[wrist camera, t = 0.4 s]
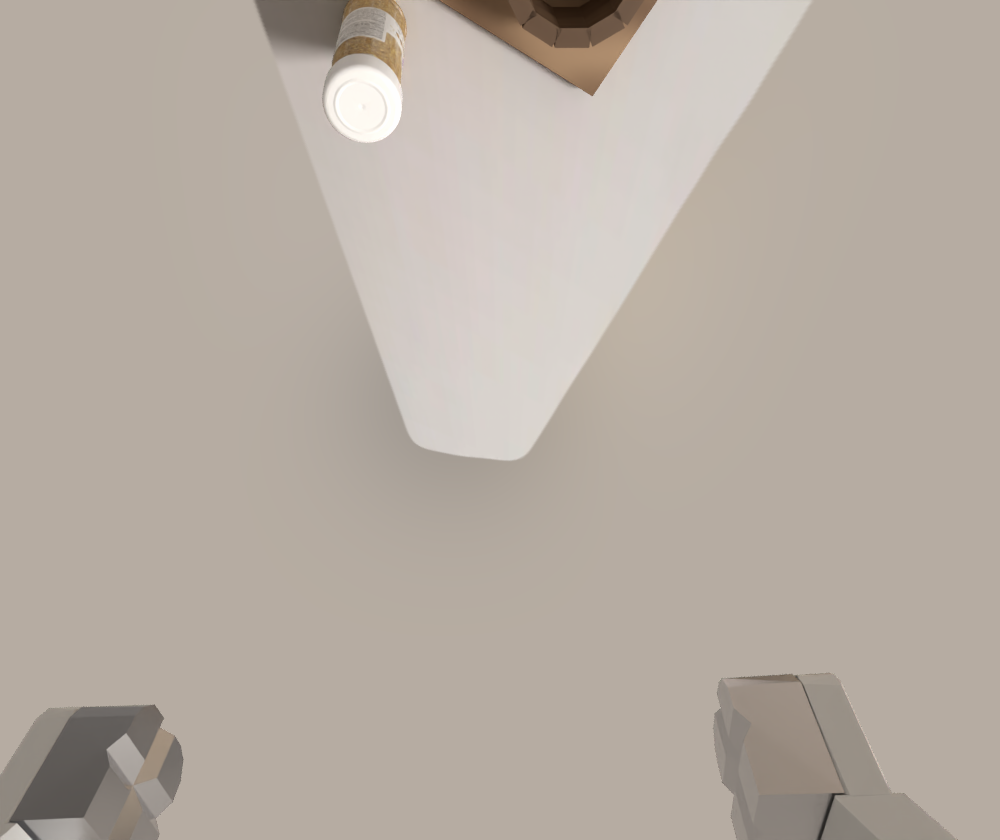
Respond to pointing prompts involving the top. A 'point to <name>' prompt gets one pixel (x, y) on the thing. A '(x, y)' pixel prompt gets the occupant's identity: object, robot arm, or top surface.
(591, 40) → the walnut collar block
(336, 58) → the sprinkles bottle
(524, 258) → the top surface
